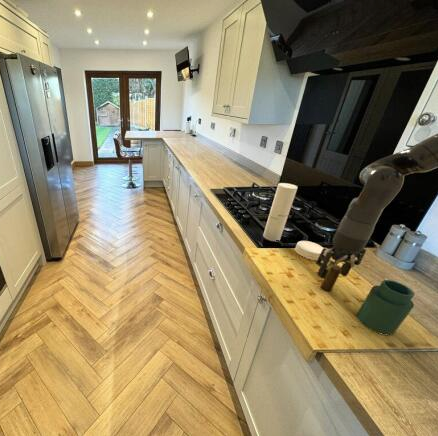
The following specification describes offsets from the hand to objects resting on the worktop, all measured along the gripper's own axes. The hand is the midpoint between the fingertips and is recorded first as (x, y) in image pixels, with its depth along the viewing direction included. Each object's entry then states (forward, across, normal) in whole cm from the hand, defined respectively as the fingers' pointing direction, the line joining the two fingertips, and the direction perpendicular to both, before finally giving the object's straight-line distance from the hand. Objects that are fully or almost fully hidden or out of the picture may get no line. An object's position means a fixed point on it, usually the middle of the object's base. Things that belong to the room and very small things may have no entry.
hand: (331, 275), depth 76 cm
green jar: (+6, +2, -14) cm, 15 cm away
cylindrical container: (+6, +4, +33) cm, 34 cm away
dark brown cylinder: (+6, 0, 0) cm, 6 cm away
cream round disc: (+6, +11, +19) cm, 23 cm away
